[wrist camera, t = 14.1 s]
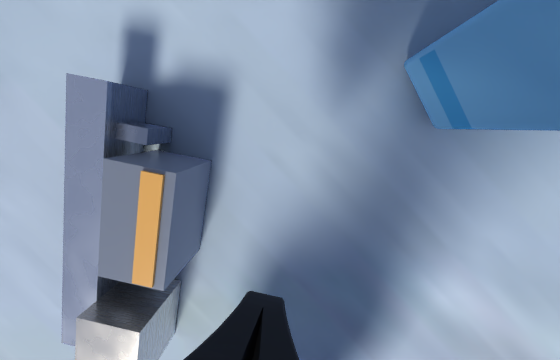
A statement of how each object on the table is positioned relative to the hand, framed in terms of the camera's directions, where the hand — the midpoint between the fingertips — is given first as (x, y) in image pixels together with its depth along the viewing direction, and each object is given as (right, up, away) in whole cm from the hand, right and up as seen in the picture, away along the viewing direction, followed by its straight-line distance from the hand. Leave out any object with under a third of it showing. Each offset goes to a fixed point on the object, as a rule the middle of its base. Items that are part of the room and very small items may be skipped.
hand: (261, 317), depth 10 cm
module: (-7, +4, +10) cm, 13 cm away
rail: (-9, +2, +11) cm, 14 cm away
